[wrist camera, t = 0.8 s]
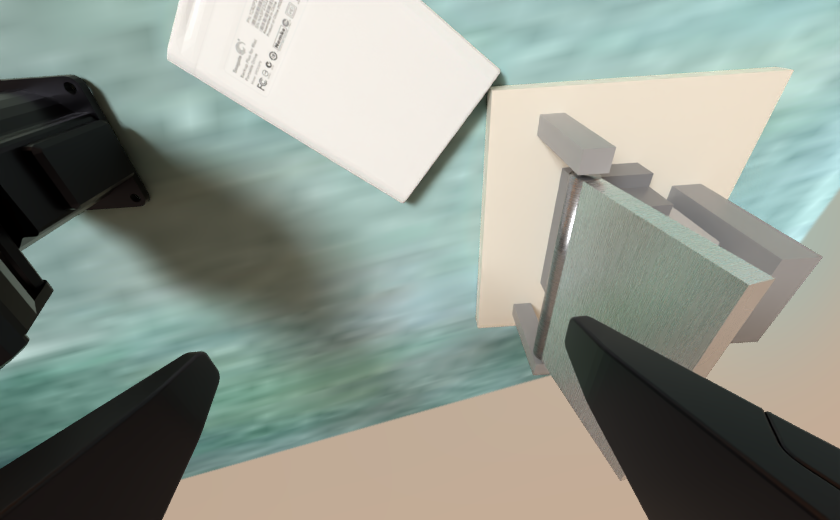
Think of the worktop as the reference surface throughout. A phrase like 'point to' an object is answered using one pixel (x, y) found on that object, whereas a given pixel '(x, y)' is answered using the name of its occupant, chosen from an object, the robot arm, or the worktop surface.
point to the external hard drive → (341, 76)
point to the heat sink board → (635, 128)
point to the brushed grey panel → (639, 287)
